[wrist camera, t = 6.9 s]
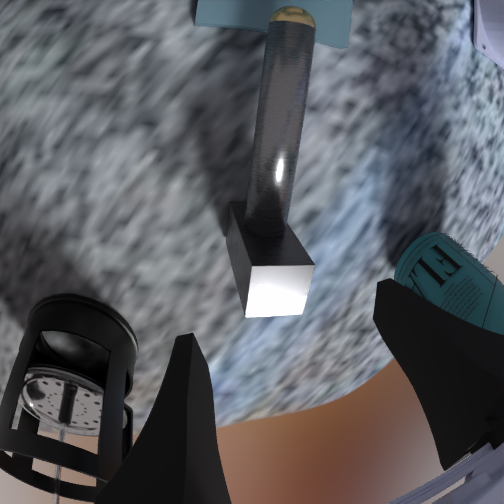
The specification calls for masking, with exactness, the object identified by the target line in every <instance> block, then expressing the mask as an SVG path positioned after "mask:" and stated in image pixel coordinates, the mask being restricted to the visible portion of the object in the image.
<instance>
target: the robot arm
mask: <svg viewBox="0 0 504 504" xmlns="http://www.w3.org/2000/svg"><path fill="white" fill-rule="evenodd" d="M473 42H474V46H475V48H476V49H477V50H479V51H480V52H482V53H483V54H484V55H486V56H487V57H488V58H490V59H491V60H492V61H494V62H495V63H496V64H498V65H499V66H500V67H501V68H503V69H504V0H474V41H473ZM373 320H374V322H375V324H376V327H377V329H378V331H379V333H380V335H381V337H382V339H383V340H384V342H385V343H386V345H387V347H388V348H389V350H390V351H391V353H392V354H393V356H394V357H395V359H396V360H397V362H398V363H399V365H400V366H401V368H402V370H403V371H404V373H405V374H406V376H407V377H408V379H409V381H410V382H411V384H412V386H413V388H414V390H415V392H416V394H417V396H418V399H419V401H420V403H421V405H422V408H423V410H424V413H425V415H426V417H427V420H428V423H429V425H430V428H431V431H432V434H433V437H434V440H435V444H436V448H437V451H438V455H439V459H440V463H441V466H442V468H443V469H444V471H446V470H448V469H449V468H451V467H452V466H454V465H456V464H457V463H459V462H460V461H461V460H463V459H465V458H466V457H468V456H469V455H470V454H472V455H471V456H469V457H468V458H466V459H465V460H463V461H462V462H460V463H459V464H457V465H456V466H454V467H453V468H451V469H450V470H448V471H446V472H445V473H443V474H441V475H440V476H438V477H436V478H435V479H433V480H431V481H429V482H428V483H426V484H424V485H422V486H420V487H418V488H417V489H415V490H413V491H411V492H409V493H407V494H405V495H403V496H401V497H399V498H397V499H395V500H393V501H390V502H388V503H386V504H420V503H422V502H424V501H426V500H428V499H429V498H431V497H433V496H435V495H436V494H438V493H440V492H441V491H443V490H445V489H446V488H448V487H450V486H451V485H453V484H454V483H456V482H457V481H459V480H460V479H462V478H463V477H465V476H466V475H467V476H466V478H465V482H464V484H462V485H460V486H459V487H457V488H456V489H454V490H452V491H451V492H449V493H447V494H446V495H444V496H443V497H441V498H439V499H438V500H436V501H435V502H433V503H432V504H504V335H501V334H498V333H495V332H492V331H489V330H486V329H484V328H481V327H479V326H476V325H474V324H472V323H469V322H467V321H465V320H463V319H461V318H459V317H457V316H455V315H453V314H451V313H449V312H447V311H445V310H443V309H442V308H440V307H438V306H436V305H435V304H433V303H431V302H430V301H428V300H426V299H425V298H423V297H421V296H420V295H418V294H416V293H415V292H413V291H411V290H410V289H408V288H406V287H405V286H403V285H402V284H400V283H398V282H396V281H395V280H393V279H391V278H389V279H386V280H383V281H380V282H377V290H376V299H375V306H374V314H373ZM94 504H231V500H230V496H229V493H228V490H227V485H226V481H225V477H224V473H223V469H222V465H221V460H220V456H219V451H218V444H217V436H216V425H215V413H214V400H213V389H212V384H211V378H210V373H209V368H208V364H207V362H206V360H205V358H204V356H203V354H202V351H201V349H200V347H199V345H198V342H197V340H196V338H195V336H194V333H190V334H185V335H181V336H177V337H176V339H175V343H174V347H173V350H172V354H171V357H170V361H169V364H168V367H167V370H166V373H165V376H164V379H163V382H162V385H161V388H160V390H159V393H158V395H157V398H156V400H155V403H154V405H153V408H152V410H151V412H150V415H149V417H148V419H147V421H146V423H145V425H144V427H143V429H142V431H141V433H140V435H139V437H138V438H137V440H136V442H135V443H134V445H133V447H132V449H131V450H130V452H129V453H128V455H127V457H126V458H125V459H124V461H123V462H122V464H121V465H120V467H119V468H118V470H117V471H116V472H115V474H114V475H113V476H112V478H111V479H110V480H109V481H108V483H107V484H106V485H105V486H104V487H103V489H102V490H101V491H100V492H99V493H98V494H97V496H96V497H95V500H94Z"/></svg>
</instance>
